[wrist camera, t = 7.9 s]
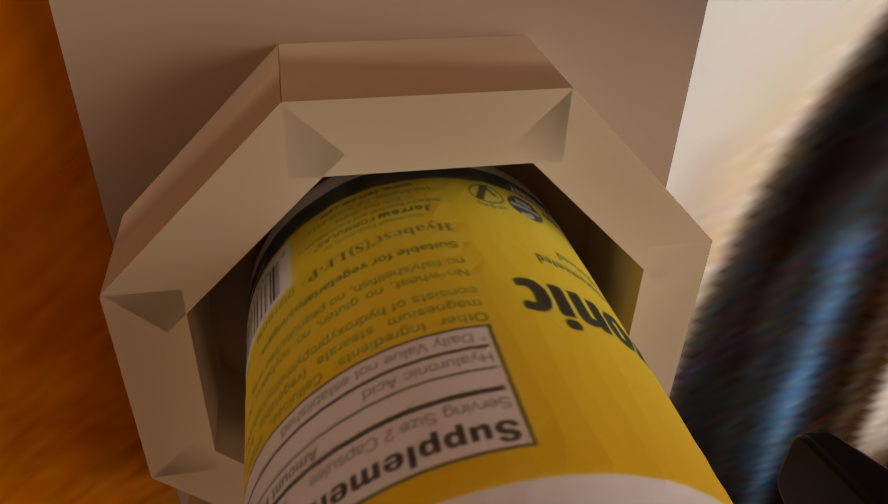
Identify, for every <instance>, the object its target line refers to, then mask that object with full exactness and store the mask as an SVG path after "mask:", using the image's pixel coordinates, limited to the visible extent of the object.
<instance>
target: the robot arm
mask: <svg viewBox="0 0 888 504" xmlns="http://www.w3.org/2000/svg"><path fill="white" fill-rule="evenodd" d="M778 488H779V492H780V495H781V497H782V500H783V502H784V504H888V468H887V467H885V466H883V465H882V464H880V463H879V462H877V461H875V460H874V459H872V458H871V457H869V456H867V455H866V454H864V453H863V452H861V451H859V450H858V449H856V448H855V447H853V446H851V445H850V444H848V443H847V442H845V441H843V440H842V439H840V438H839V437H837V436H835V435H833V434H831V433H829V432H822V431H820V432H813V433H806V434H800V435H798V436H796V437H795V438H794V439H793V441H792V443H791V445H790V447H789V450H788V452H787V454H786V457H785V459H784V461H783V464H782V466H781V468H780V471H779V474H778Z"/></svg>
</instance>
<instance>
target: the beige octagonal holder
mask: <svg viewBox="0 0 888 504" xmlns="http://www.w3.org/2000/svg"><path fill="white" fill-rule="evenodd" d="M48 1H49V5H50V8H51V12H52V16H53V20H54V24H55V28H56V31H57V35H58V39H59V43H60V47H61V50H62V54H63V58H64V62H65V66H66V69H67V73H68V77H69V81H70V85H71V88H72V92H73V96H74V100H75V104H76V108H77V111H78V115H79V119H80V123H81V127H82V130H83V134H84V138H85V142H86V146H87V149H88V153H89V157H90V161H91V165H92V169H93V172H94V176H95V180H96V184H97V188H98V191H99V195H100V199H101V203H102V207H103V210H104V214H105V218H106V222H107V226H108V230H109V233H110V237H111V241H112V245H113V251H112V255H111V258H110V262H109V265H108V268H107V272H106V275H105V279H104V282H103V286H102V289H101V292H100V296H99V297H100V301H101V304H102V308H103V311H104V315H105V318H106V322H107V325H108V329H109V332H110V336H111V339H112V343H113V346H114V350H115V353H116V357H117V360H118V364H119V367H120V370H121V374H122V377H123V381H124V384H125V388H126V391H127V395H128V398H129V402H130V405H131V409H132V412H133V416H134V419H135V423H136V426H137V430H138V433H139V437H140V440H141V443H142V447H143V450H144V454H145V457H146V461H147V464H148V468H149V471H150V475H151V478H152V479H155V480H157V481H160V482H162V483H164V484H167V485H169V486H171V487H174V488H176V489H177V493H178V496H179V500H180V504H244V453H245V399H246V347H247V343H246V340H247V317H248V299H249V291H250V284H251V278H252V273H253V270H254V266H255V263H256V260H257V257H258V255H259V253H260V251H261V249H262V247H263V245H264V243H265V241H266V239H267V237H268V236H269V234H270V232H271V231H272V229H273V228H274V227H275V225H276V224H277V223H278V222H279V221H280V220H281V219H282V218H283V217H284V216H285V215H286V214H287V213H288V212H289V211H290V210H291V209H292V208H293V207H294V206H295V205H296V204H297V202H298V201H299V200H300V199H301V198H302V197H303V196H304V195H305V194H306V193H308V192H309V191H310V190H311V189H313V188H314V187H316V186H318V185H319V184H321V183H322V182H324V181H325V180H327V179H329V178H331V177H333V176H344V175H359V174H374V173H389V172H404V171H419V170H434V169H449V168H464V167H479V166H493V167H495V168H497V169H499V170H501V171H503V172H505V173H506V174H508V175H509V176H511V177H513V178H514V179H516V180H517V181H519V182H520V183H521V184H523V185H524V186H525V187H527V188H528V189H529V190H530V191H531V192H532V193H533V194H534V195H535V196H536V197H537V198H538V199H539V200H540V201H541V203H542V204H543V205H544V206H545V208H546V209H547V210H548V211H549V213H550V214H551V216H552V217H553V218H554V220H555V221H556V222H557V223H558V225H559V227H560V228H561V230H562V232H563V233H564V235H565V236H566V238H567V239H568V241H569V243H570V244H571V246H572V248H573V249H574V251H575V252H576V254H577V255H578V257H579V258H580V260H581V261H582V263H583V265H584V266H585V268H586V269H587V271H588V272H589V274H590V275H591V277H592V278H593V280H594V281H595V283H596V285H597V286H598V288H599V290H600V291H601V293H602V294H603V296H604V298H605V299H606V301H607V302H608V304H609V306H610V307H611V309H612V310H613V312H614V313H615V315H616V316H617V318H618V320H619V321H620V323H621V324H622V326H623V328H624V329H625V331H626V333H627V334H628V336H629V338H630V339H631V340H632V342H633V343H634V345H635V346H636V347H637V349H638V350H639V351H640V353H641V355H642V357H643V358H644V360H645V362H646V364H647V365H648V367H649V369H650V370H651V372H652V373H653V375H654V376H655V377H656V379H657V380H658V382H659V384H660V385H661V387H662V388H663V390H664V392H665V393H666V395H667V396H668V398H669V395H670V392H671V388H672V385H673V381H674V377H675V374H676V370H677V367H678V363H679V359H680V356H681V352H682V348H683V345H684V341H685V338H686V334H687V330H688V327H689V323H690V320H691V316H692V312H693V309H694V305H695V302H696V298H697V294H698V291H699V287H700V283H701V280H702V276H703V273H704V269H705V265H706V262H707V258H708V255H709V251H710V247H711V244H712V240H711V239H710V238H709V237H708V235H707V234H706V233H705V232H704V231H703V230H702V229H701V228H700V226H699V225H698V224H697V223H696V222H695V221H694V220H693V219H692V217H691V216H690V215H689V214H688V213H687V212H686V211H685V210H684V209H683V207H682V206H681V205H680V204H679V203H678V202H677V201H676V200H675V198H674V197H673V196H672V195H671V194H670V193H669V192H668V191H667V189H666V185H667V180H668V176H669V171H670V167H671V162H672V158H673V153H674V149H675V145H676V140H677V136H678V131H679V127H680V122H681V118H682V113H683V109H684V104H685V100H686V96H687V91H688V87H689V82H690V78H691V73H692V69H693V64H694V60H695V55H696V51H697V47H698V42H699V38H700V33H701V29H702V24H703V20H704V15H705V11H706V6H707V2H708V0H48Z"/></svg>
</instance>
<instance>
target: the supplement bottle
mask: <svg viewBox="0 0 888 504" xmlns="http://www.w3.org/2000/svg"><path fill="white" fill-rule="evenodd" d="M246 343H247V347H246V399H245V453H244V504H733V502H732V501H731V499H730V497H729V496H728V494H727V492H726V491H725V489H724V488H723V486H722V485H721V483H720V482H719V480H718V479H717V477H716V475H715V474H714V472H713V470H712V468H711V467H710V465H709V463H708V461H707V459H706V458H705V456H704V455H703V453H702V452H701V450H700V448H699V447H698V445H697V444H696V442H695V441H694V439H693V437H692V436H691V434H690V432H689V431H688V429H687V427H686V426H685V424H684V422H683V421H682V419H681V417H680V416H679V414H678V412H677V411H676V409H675V407H674V406H673V404H672V403H671V401H670V400H669V398H668V396H667V395H666V393H665V392H664V390H663V388H662V387H661V385H660V384H659V382H658V380H657V379H656V377H655V376H654V375H653V373H652V372H651V370H650V369H649V367H648V365H647V364H646V362H645V360H644V358H643V357H642V355H641V353H640V351H639V350H638V349H637V347H636V346H635V345H634V343H633V342H632V340H631V339H630V338H629V336H628V334H627V333H626V331H625V329H624V328H623V326H622V324H621V323H620V321H619V320H618V318H617V316H616V315H615V313H614V312H613V310H612V309H611V307H610V306H609V304H608V302H607V301H606V299H605V298H604V296H603V294H602V293H601V291H600V290H599V288H598V286H597V285H596V283H595V281H594V280H593V278H592V277H591V275H590V274H589V272H588V271H587V269H586V268H585V266H584V265H583V263H582V261H581V260H580V258H579V257H578V255H577V254H576V252H575V251H574V249H573V248H572V246H571V244H570V243H569V241H568V239H567V238H566V236H565V235H564V233H563V232H562V230H561V228H560V227H559V225H558V223H557V222H556V221H555V220H554V218H553V217H552V216H551V214H550V213H549V211H548V210H547V209H546V208H545V206H544V205H543V204H542V203H541V201H540V200H539V199H538V198H537V197H536V196H535V195H534V194H533V193H532V192H531V191H530V190H529V189H528V188H527V187H525V186H524V185H523V184H521V183H520V182H519V181H517V180H516V179H514V178H513V177H511V176H509V175H508V174H506V173H505V172H503V171H501V170H499V169H497V168H495V167H493V166H479V167H464V168H449V169H434V170H419V171H404V172H389V173H374V174H359V175H344V176H333V177H331V178H329V179H327V180H325V181H324V182H322V183H321V184H319V185H318V186H316V187H314V188H313V189H311V190H310V191H309V192H308V193H306V194H305V195H304V196H303V197H302V198H301V199H300V200H299V201H298V202H297V204H296V205H295V206H294V207H293V208H292V209H291V210H290V211H289V212H288V213H287V214H286V215H285V216H284V217H283V218H282V219H281V220H280V221H279V222H278V223H277V224H276V225H275V227H274V228H273V229H272V231H271V232H270V234H269V236H268V237H267V239H266V241H265V243H264V245H263V247H262V249H261V251H260V253H259V255H258V257H257V260H256V263H255V266H254V270H253V273H252V278H251V284H250V291H249V299H248V317H247V340H246Z"/></svg>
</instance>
